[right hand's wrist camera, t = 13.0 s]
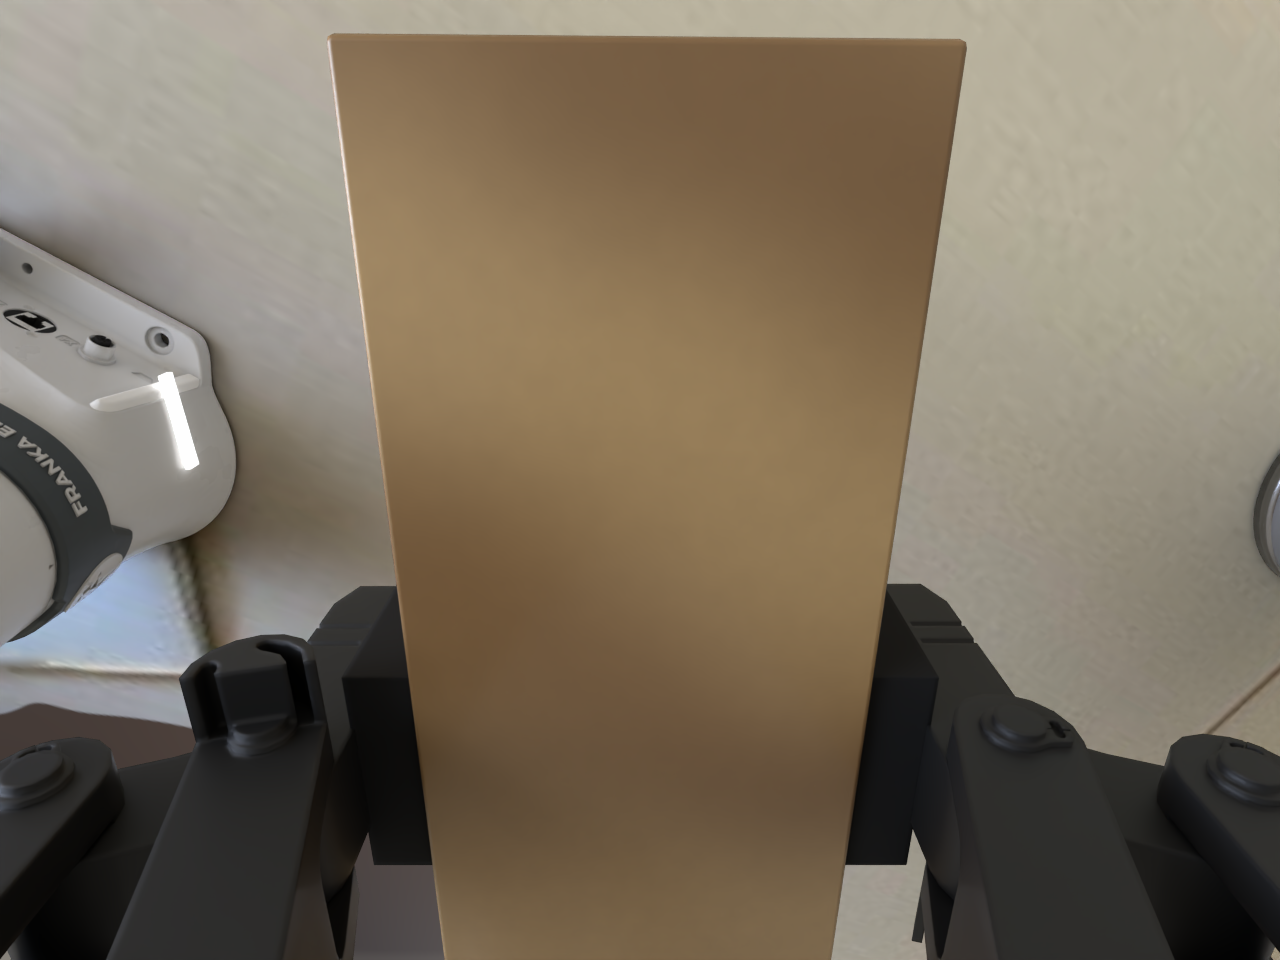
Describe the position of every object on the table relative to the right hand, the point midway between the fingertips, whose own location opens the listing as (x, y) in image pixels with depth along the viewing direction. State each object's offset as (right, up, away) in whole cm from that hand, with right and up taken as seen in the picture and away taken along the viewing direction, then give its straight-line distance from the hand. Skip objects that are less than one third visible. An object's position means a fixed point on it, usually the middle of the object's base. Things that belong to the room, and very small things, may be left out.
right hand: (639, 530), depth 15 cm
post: (0, -18, +8) cm, 20 cm away
